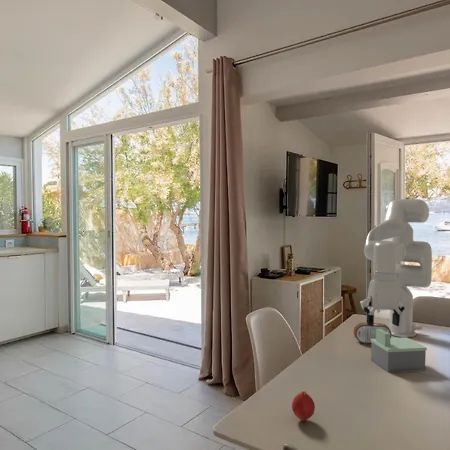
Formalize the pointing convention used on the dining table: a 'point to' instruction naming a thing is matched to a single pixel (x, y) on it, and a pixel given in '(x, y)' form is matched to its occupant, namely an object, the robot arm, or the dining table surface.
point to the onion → (303, 406)
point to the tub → (398, 359)
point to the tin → (368, 331)
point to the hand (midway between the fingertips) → (383, 325)
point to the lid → (395, 343)
